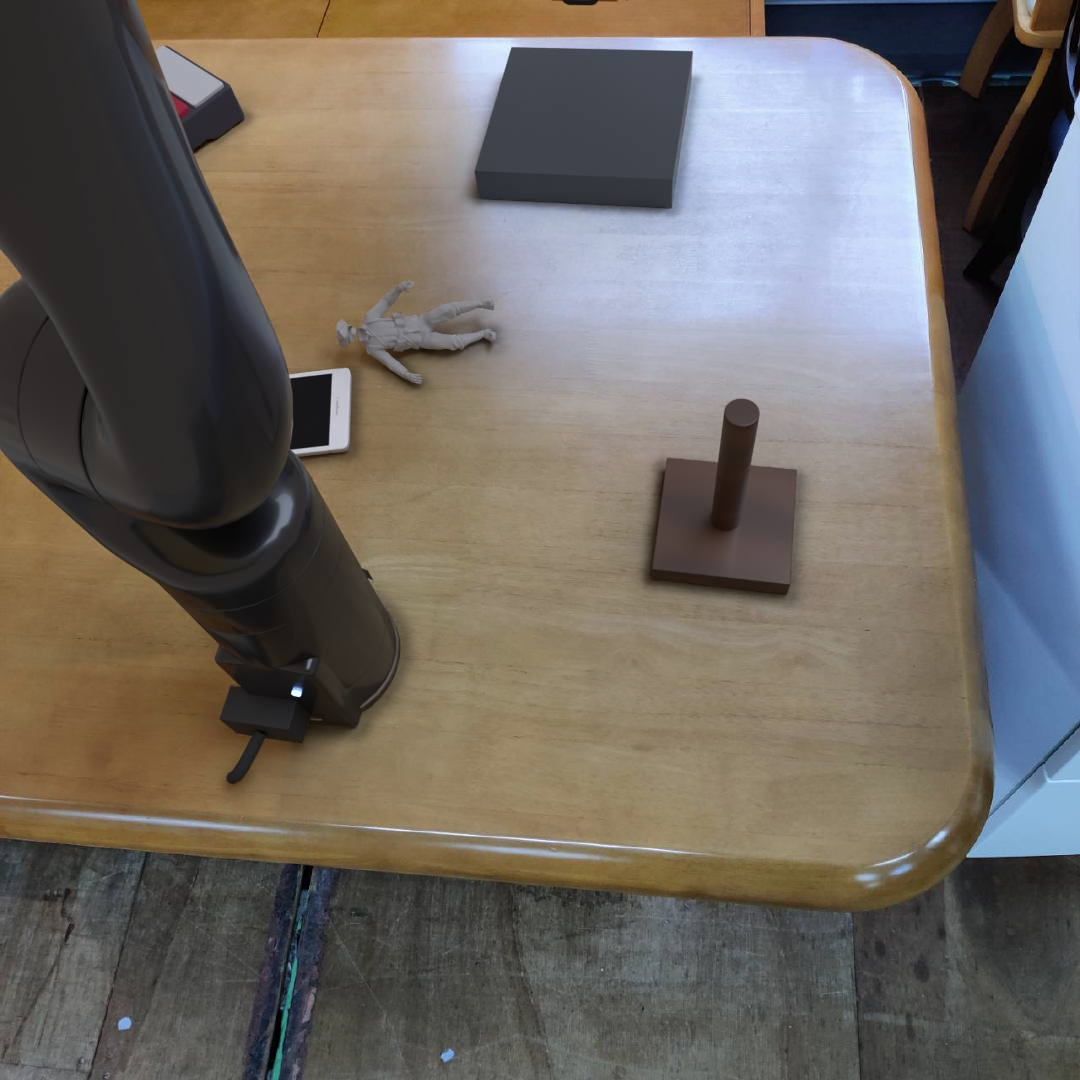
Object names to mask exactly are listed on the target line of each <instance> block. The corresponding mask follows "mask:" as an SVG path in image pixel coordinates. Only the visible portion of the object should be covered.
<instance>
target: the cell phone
mask: <svg viewBox="0 0 1080 1080" xmlns="http://www.w3.org/2000/svg"><path fill="white" fill-rule="evenodd" d="M289 377H290V383H291V389H292V397H293V428H292V436H291V444H290V449H291V450H292V451H293V452H294V453H295V454H296V455H297V457H298V458H300V457H301V458H302V457H309V456H316V455H326V454H335V453H345V452H347V451H348V450H349V449H350V444H351V417H352V416H351V415H352V388H353V375H352V373H351V371H350V368H348V367H341V368H331V369H322V370H315V371H305V372H298V373H289Z"/></svg>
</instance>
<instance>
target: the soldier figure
mask: <svg viewBox="0 0 1080 1080" xmlns="http://www.w3.org/2000/svg"><path fill="white" fill-rule="evenodd" d="M414 284H415V282H414V280H404V281H402V282H400V283H399V284H397V285H395V286H394V287H393V288H392V289H391V290H389V291H388V292H387V293H386V294H385V295H383V297H381V299H380V300H379V301H378V302H377V303H376V304H375V305H374V306H373V307H371V308H370V309H369V310H368V311H367V312H366V313H364V315H363V318H362V324H361V325H360V326H358V328H356V327H357V326H354V327H353V324H347V323H346V322H345V319H344V318H341V319H340V320H339V321H338V322H337V324H336V328H335V329H336V331H335V332H336V334H335V337H336V340H337V342H338V346H339V348H340V349H345V350H347V349H348V347H349V346H350V345H351V344H353V343H354V340H355V335H356V333H357V340H358V342H360V343H362V344H364V348H365V350H366V353H367V354H368V355H370V356H371V357H373V358H374V359H376V360H377V361H379V363H380V364H382V365H384V366H385V367H387V368H388V369H389V370H390V371H391V372H393V373H395V374H396V375H397V376H400V377H401V378H403V379H404V380H407V381H409V382H411V383H414V384H419V385H421V384H423V383H422V382H423V378H422V374H418V373H412V372H410V371H409V369H407V368H406V367H405V366H404V365H402V363H401V362H400V361H399V360H397V359H396V358H395V357H393V356H392V355H391V354H390V353H389V352H388V351H387V350H388V349H389V350H390V349H392V350H393V352H403V353H404V351H405V350H409V349H414V350H420V349H426V350H436V351H437V350H438V351H440V350H441V351H442V350H445V349H447V350H451V351H456V350H458V349H459V350H463V349H465V347H466V346H468V345H470V344H472V343H474V342H477V341H480V340H482V339H483V338H484V339H485V340H488V341H490V342H492V343H495V342H496V339H497V333H496V331H492V329H491V328H484V329H482V330H481V329H480V330H478V331H476V332H469V333H462V334H461V333H457V334H456V333H453V334H449V333H442V332H438V331H435V330H436V329H437V327H439V326H441V325H443V324H445V323H446V322H448V321H449V320H453V319H455V318H456V317H457V316H460V315H462V314H465V313H469V312H472V311H473V310H475V309H484V310H489V311H494V310H495V300H494V299H481V300H466V301H465V300H463V301H451V302H450V303H441V304H440V305H438V306H436V307H435V308H433V309H431V310H429V311H428V312H425V313H423V314H421V315H419V316H418V315H417V314H411V315H403V312H394V313H391V317H386V316H385V317H384V315H385V314H386V313H387V311H388V310H389V308H391V307H392V306H394V305H395V304H396V302H397V301H398V299H399V298H400V296H401V294H402V293H403V292H404V293H406V294H411V291H410V290H407V289H408V288H413V286H414Z"/></svg>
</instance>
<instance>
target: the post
mask: <svg viewBox="0 0 1080 1080" xmlns="http://www.w3.org/2000/svg"><path fill="white" fill-rule="evenodd" d="M760 416H761V411H760V408H759V406H758V405H757V404H756V403H755V402H754V401H753V400H751V399H747V398H742V397H741V398H735V399H732V400H731V401H729V402H728V403H727V404H726V405H725V407H724V410H723V416H722V417H723V418H722V425H721V434H720V442H719V449H718V450H719V451H718V458H717V461H709V460H708V461H707V460H699V459H687V458H676V457H666V461H665V468H664V476H663V484H662V490H661V491H662V492H661V497H660V498H661V499H660V505H659V506H660V507H659V514H658V522H657V528H656V536H655V543H654V551H653V557H652V566H651V579H652V580H658V581H667V582H676V583H684V584H686V583H687V584H693V585H702V586H712V587H721V588H729V589H737V590H746V591H747V590H748V591H755V592H765V593H773V594H781V595H788V593H789V590H790V587H791V582H792V581H791V580H792V579H791V578H792V563H793V561H792V560H793V544H794V529H795V509H796V491H797V476H798V475H797V474H798V473H797V472H798V471H797V469H795V468H794V469H793V468H783V467H773V466H764V465H763V466H762V465H752V461H753V455H754V450H755V449H754V448H755V443H756V437H757V432H758V427H759V421H760Z"/></svg>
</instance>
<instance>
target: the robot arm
mask: <svg viewBox="0 0 1080 1080" xmlns="http://www.w3.org/2000/svg"><path fill="white" fill-rule="evenodd" d="M561 2H562V3H564V4H565V5H568V6H595V5H597V3H598V2H599V1H598V0H562V1H561ZM155 50H156V49H155V48H154V45H153V42H152V40H151V37H150V35H149V32H148V29H147V26H146V24H145V21H144V19H143V16H142V14H141V10H140V9H139V5H138V3H137V1H136V0H0V251H1V252H2V253H3V255H4V256H5V257H6V258H7V259H8V260H9V262H10V263H11V264H12V265H13V266H14V268H15V269H16V270H17V272H18V273H19V274H20V276H21V277H20V278H18V279H17V280H16V281H14V282H13V283H12V284H10V285H9V286H8V287H7V288H6V289H5V290H4V291H2V293H1V294H0V451H1V452H2V454H3V455H4V456H5V457H6V458H7V459H8V461H9V462H10V463H11V464H12V465H13V466H14V467H15V468H16V470H17V471H19V472H20V473H21V474H22V475H23V476H24V478H26V479H27V480H28V481H29V482H31V483H32V484H33V485H34V487H36V488H37V490H39V491H40V492H41V493H42V494H43V495H45V496H46V497H47V498H48V499H49V500H50V501H51V502H52V503H54V504H55V505H56V506H57V507H58V508H59V509H60V510H61V511H62V512H63V513H65V514H66V515H67V517H69V518H70V519H71V520H72V521H74V522H75V523H76V524H77V525H78V526H79V527H80V528H81V529H83V531H85V532H86V533H87V534H88V535H89V536H90V537H92V538H93V539H94V540H95V541H96V542H97V543H98V544H100V545H101V546H102V547H103V548H104V549H106V550H107V551H108V552H110V553H111V554H113V556H115V557H117V558H118V559H120V560H121V561H123V562H124V563H126V564H127V565H129V566H131V567H132V568H133V569H135V570H137V571H138V572H140V573H141V574H143V575H145V576H147V577H148V578H149V579H151V580H152V581H154V582H155V583H156V584H158V585H159V586H160V587H161V588H162V589H163V590H164V591H165V592H166V593H167V594H168V595H169V596H170V597H171V598H172V599H173V600H174V601H175V602H176V603H177V604H178V605H179V606H180V607H181V608H182V609H183V610H184V611H185V612H186V613H187V614H188V615H189V616H190V617H191V618H192V619H193V620H194V621H195V622H196V624H197V625H199V626H200V627H201V628H202V629H203V630H204V631H205V632H206V633H207V634H208V635H209V637H211V638H212V639H213V640H214V641H215V642H216V643H217V644H218V647H217V649H216V652H215V655H214V662H215V664H216V665H217V666H218V667H219V668H221V669H222V671H224V672H225V673H226V674H227V675H228V676H229V677H230V678H231V679H232V680H233V681H234V682H235V683H236V684H237V685H230V686H229V689H228V692H227V694H226V697H225V701H224V704H223V706H222V709H221V713H220V715H219V718H218V720H219V721H221V722H222V724H224V725H225V726H226V727H228V728H229V729H230V730H231V731H232V732H234V733H235V734H236V735H242V736H249V737H250V739H249V741H248V743H247V744H246V746H245V748H244V750H243V752H242V754H241V755H240V757H239V759H238V761H237V763H236V764H235V766H234V767H233V769H232V770H230V771H229V772H228V773H226V777H225V779H226V782H227V783H228V784H229V785H236V784H237V783H239V782H240V781H242V780H243V779H244V778H245V776H246V775H247V774H248V772H249V770H250V769H251V767H252V765H253V764H254V762H255V760H256V758H257V756H258V754H259V752H260V751H261V748H262V746H263V745H264V743H265V740H266V739H268V740H275V741H281V742H288V743H294V744H301V745H303V744H304V742H305V739H306V736H307V732H308V729H309V725H310V723H315V724H329V725H337V726H343V727H350V728H355V727H357V726H358V725H359V723H360V719H361V716H362V714H363V712H364V711H365V710H366V709H368V708H369V707H370V706H372V705H373V704H374V703H375V702H376V701H377V700H378V699H379V698H380V697H381V696H382V695H383V694H384V692H385V691H386V690H387V689H388V687H389V686H390V684H391V683H392V680H393V679H394V677H395V674H396V672H397V670H398V666H399V662H400V656H401V639H400V638H401V637H400V633H399V631H398V628H397V625H396V622H395V621H394V619H393V617H392V615H391V614H390V612H389V611H388V609H387V608H386V607H385V605H383V603H382V601H381V599H380V597H379V595H378V594H377V592H376V590H375V588H374V587H373V585H372V583H371V581H372V582H373V581H374V578H373V576H372V575H371V573H370V571H369V569H368V570H367V569H365V568H363V566H362V565H361V564H360V562H359V560H358V558H357V557H356V554H355V553H354V551H353V549H352V548H351V546H350V544H349V542H348V541H347V538H346V537H345V535H344V534H343V532H342V530H341V527H340V526H339V524H338V523H337V521H336V519H335V517H334V516H333V514H332V511H331V510H330V508H329V506H328V504H327V503H326V501H325V499H324V497H323V496H322V494H321V492H320V491H319V489H318V486H317V484H316V483H315V481H314V479H313V478H312V476H311V474H310V472H309V471H308V469H307V467H306V466H305V464H304V463H303V462H302V461H301V458H300V457H297V455H296V454H295V453H294V452H293V451H292V450H291V449H290V444H291V436H292V428H293V397H292V389H291V383H290V377H289V374H290V371H289V367H288V364H287V360H286V357H285V354H284V351H283V348H282V345H281V342H280V340H279V337H278V335H277V333H276V330H275V328H274V325H273V323H272V321H271V319H270V316H269V315H268V312H267V310H266V308H265V306H264V304H263V302H262V300H261V296H260V295H259V293H258V290H257V289H256V287H255V284H254V282H253V280H252V278H251V276H250V274H249V272H248V270H247V268H246V266H245V264H244V261H243V260H242V257H241V255H240V253H239V250H238V249H237V247H236V245H235V242H234V241H233V238H232V236H231V234H230V232H229V229H228V228H227V226H226V223H225V221H224V219H223V217H222V214H221V213H220V211H219V208H218V206H217V203H216V202H215V200H214V197H213V195H212V193H211V191H210V188H209V186H208V184H207V181H206V180H205V177H204V175H203V173H202V170H201V168H200V165H199V162H198V160H197V159H196V156H195V154H194V152H193V151H194V150H193V151H192V149H191V146H190V144H189V141H188V139H187V136H186V133H185V131H184V128H183V125H182V123H181V120H180V117H179V115H178V112H177V109H176V106H175V104H174V101H173V98H172V96H171V93H170V90H169V87H168V85H167V82H166V79H165V76H164V74H163V71H162V69H161V66H160V64H159V61H158V58H157V56H156V53H155Z"/></svg>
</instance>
